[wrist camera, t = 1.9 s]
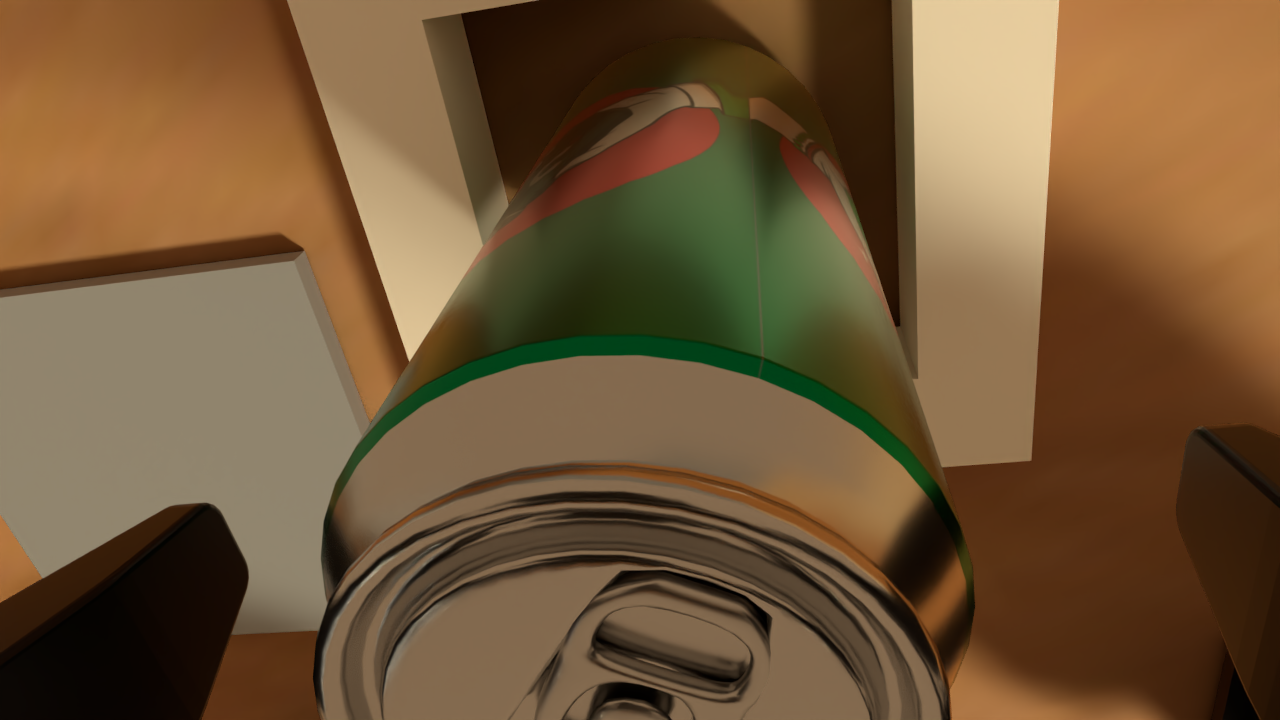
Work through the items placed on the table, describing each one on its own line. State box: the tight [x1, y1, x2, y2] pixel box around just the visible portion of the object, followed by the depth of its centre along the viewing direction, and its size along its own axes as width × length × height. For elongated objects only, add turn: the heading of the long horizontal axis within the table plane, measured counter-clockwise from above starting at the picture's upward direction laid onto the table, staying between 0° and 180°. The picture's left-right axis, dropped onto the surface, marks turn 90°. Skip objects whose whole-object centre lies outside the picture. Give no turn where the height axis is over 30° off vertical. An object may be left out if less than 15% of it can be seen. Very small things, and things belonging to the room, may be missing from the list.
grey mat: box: [0, 251, 370, 635], centre depth 21 cm, size 10×10×1 cm
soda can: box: [313, 37, 975, 720], centre depth 11 cm, size 5×5×12 cm
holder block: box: [287, 0, 1059, 467], centre depth 15 cm, size 11×11×2 cm
